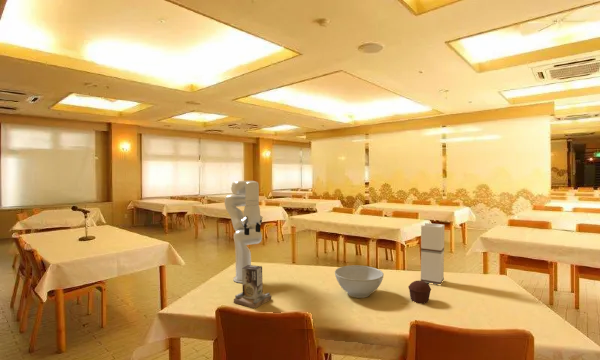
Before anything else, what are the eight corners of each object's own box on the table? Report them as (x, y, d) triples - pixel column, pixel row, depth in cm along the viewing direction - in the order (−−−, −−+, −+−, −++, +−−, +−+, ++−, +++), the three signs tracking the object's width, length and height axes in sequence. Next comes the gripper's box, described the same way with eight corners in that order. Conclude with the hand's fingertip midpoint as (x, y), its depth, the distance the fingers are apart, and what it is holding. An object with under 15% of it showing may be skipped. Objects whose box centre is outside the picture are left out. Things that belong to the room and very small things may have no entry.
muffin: (419, 306, 171) (419, 286, 170) (403, 298, 181) (403, 280, 180) (435, 301, 176) (436, 283, 176) (419, 294, 186) (419, 276, 186)
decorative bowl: (387, 289, 195) (387, 268, 194) (377, 306, 170) (377, 283, 170) (343, 282, 206) (343, 263, 205) (328, 298, 182) (327, 276, 181)
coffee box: (263, 296, 180) (262, 266, 179) (257, 300, 174) (257, 269, 173) (248, 293, 183) (247, 264, 183) (242, 298, 177) (241, 267, 177)
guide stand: (251, 294, 188) (251, 287, 188) (271, 299, 181) (271, 292, 181) (233, 302, 176) (233, 296, 176) (254, 308, 169) (254, 301, 169)
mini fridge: (443, 280, 209) (444, 224, 207) (440, 285, 200) (441, 227, 198) (424, 277, 215) (425, 223, 213) (420, 282, 206) (421, 225, 204)
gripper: (256, 201, 200) (257, 230, 201) (236, 204, 185) (237, 235, 186) (266, 202, 196) (267, 231, 197) (247, 205, 181) (247, 236, 182)
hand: (252, 233), depth 191 cm, fingers open, 9 cm apart
